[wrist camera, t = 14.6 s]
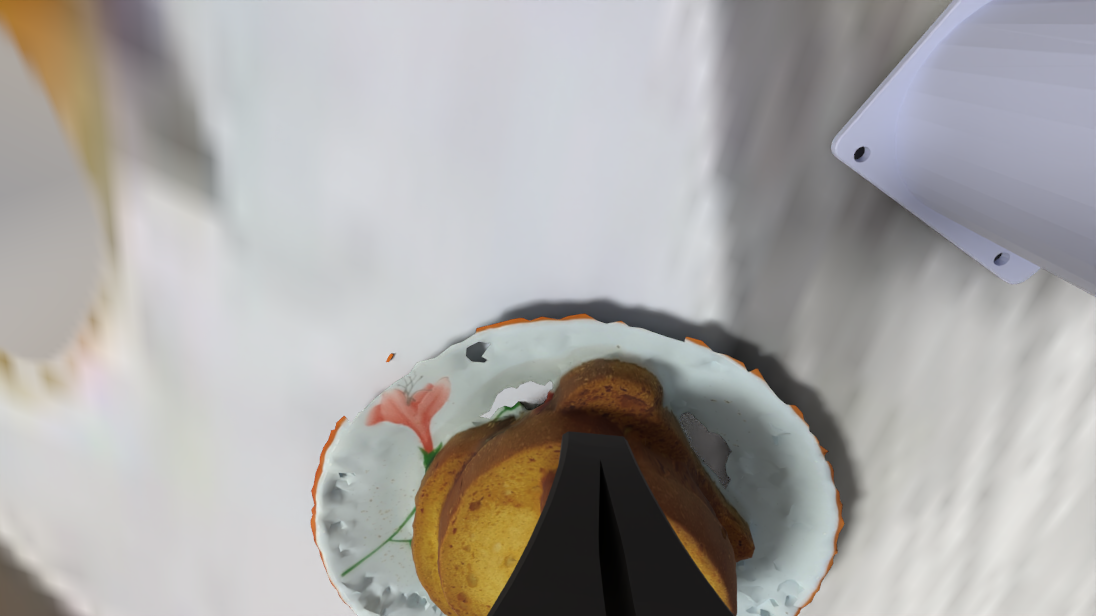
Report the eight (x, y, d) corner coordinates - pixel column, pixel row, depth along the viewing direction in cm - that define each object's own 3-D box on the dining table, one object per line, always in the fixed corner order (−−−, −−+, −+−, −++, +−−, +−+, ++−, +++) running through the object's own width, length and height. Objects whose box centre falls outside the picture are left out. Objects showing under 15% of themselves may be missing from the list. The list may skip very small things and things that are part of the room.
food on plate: (248, 506, 29) (166, 625, 23) (557, 177, 20) (548, 241, 14) (580, 692, 36) (580, 818, 31) (921, 518, 27) (1015, 653, 21)
